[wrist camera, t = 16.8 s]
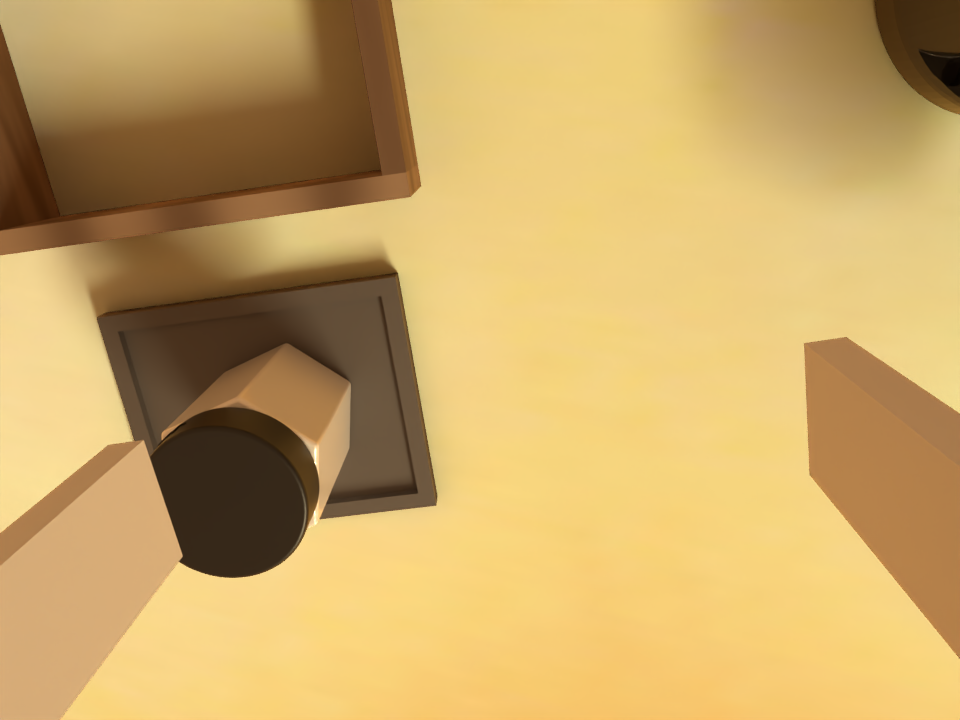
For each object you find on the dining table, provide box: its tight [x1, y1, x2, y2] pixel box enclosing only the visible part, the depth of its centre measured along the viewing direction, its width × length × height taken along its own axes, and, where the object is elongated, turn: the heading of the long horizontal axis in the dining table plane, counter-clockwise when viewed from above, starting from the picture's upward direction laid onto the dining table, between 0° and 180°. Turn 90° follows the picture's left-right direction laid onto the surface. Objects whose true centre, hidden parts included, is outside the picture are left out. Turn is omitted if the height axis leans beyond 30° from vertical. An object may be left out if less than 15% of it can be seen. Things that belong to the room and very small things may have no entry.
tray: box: [97, 273, 437, 519], centre depth 47 cm, size 18×15×1 cm
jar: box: [150, 343, 351, 578], centre depth 41 cm, size 9×8×12 cm
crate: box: [0, 0, 421, 255], centre depth 38 cm, size 22×17×6 cm
